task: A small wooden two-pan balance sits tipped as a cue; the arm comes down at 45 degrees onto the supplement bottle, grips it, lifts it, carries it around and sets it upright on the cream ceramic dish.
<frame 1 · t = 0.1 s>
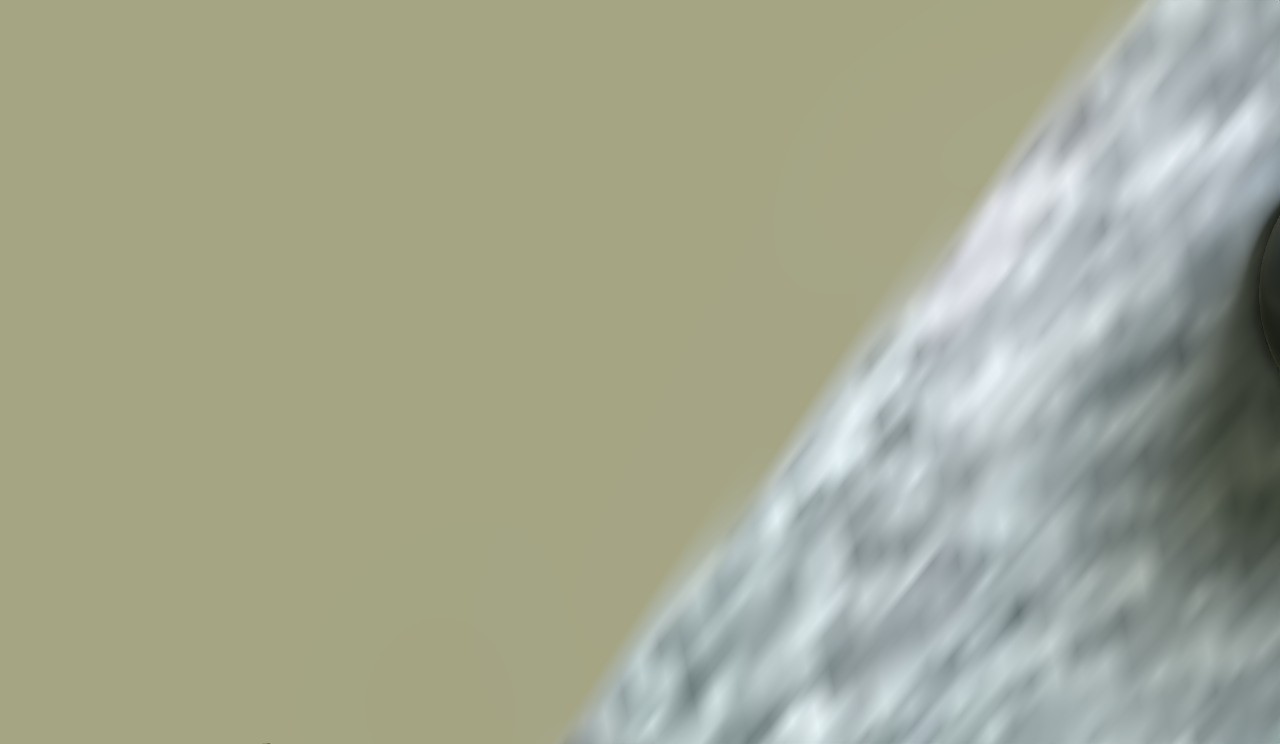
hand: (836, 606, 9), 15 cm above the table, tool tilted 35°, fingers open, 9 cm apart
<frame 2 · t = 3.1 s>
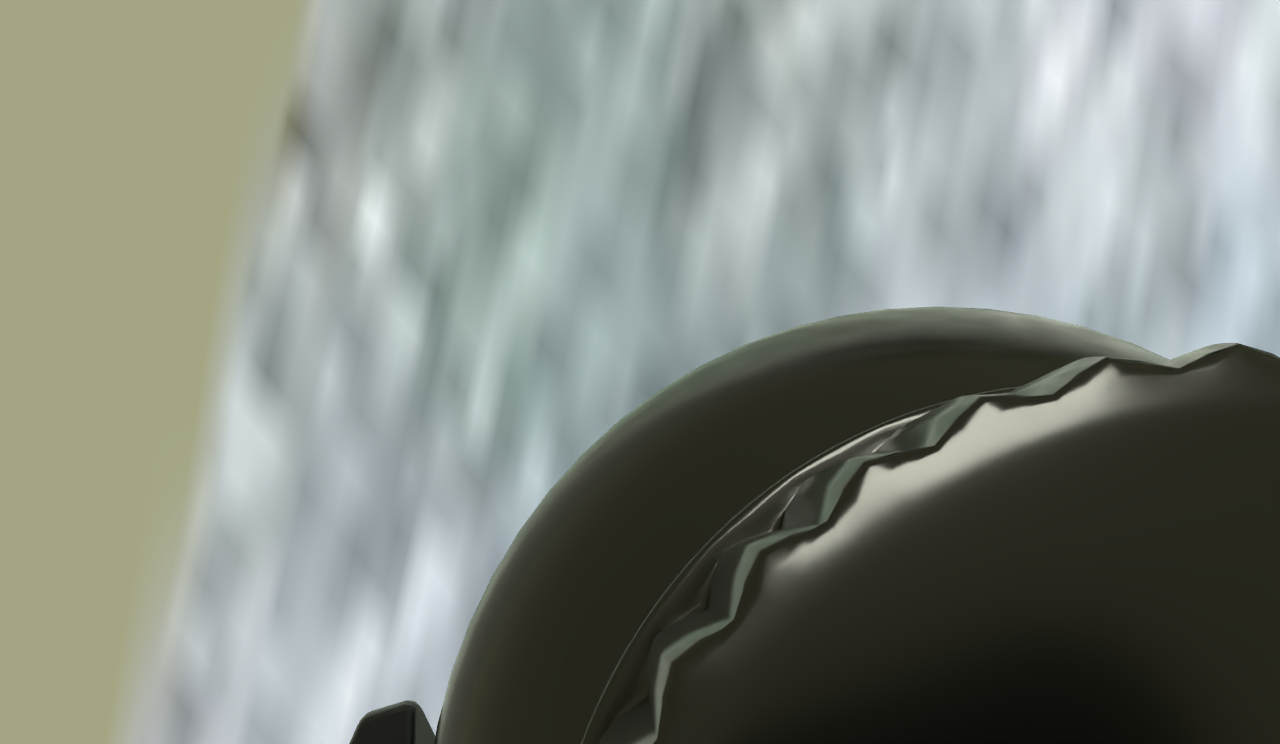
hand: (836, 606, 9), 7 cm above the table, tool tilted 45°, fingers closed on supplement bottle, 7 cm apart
supplement bottle: (780, 691, 15), on the table, touching gripper
when the fingers open (9 cm above the table, at t = 8.0 s): supplement bottle drops 1 cm, resting on dish.
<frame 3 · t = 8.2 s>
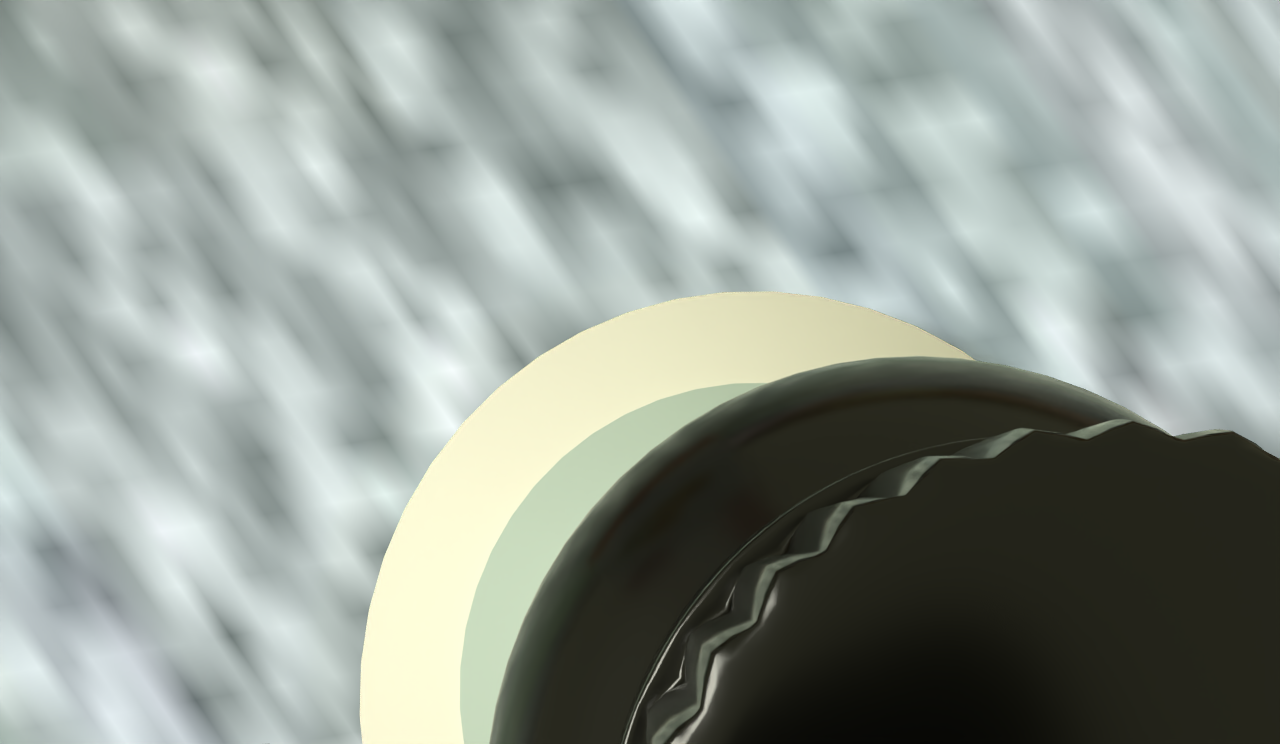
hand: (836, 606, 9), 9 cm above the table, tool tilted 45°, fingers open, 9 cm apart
supplement bottle: (780, 686, 17), point 1 cm above the table, touching dish
dish: (753, 673, 18), on the table
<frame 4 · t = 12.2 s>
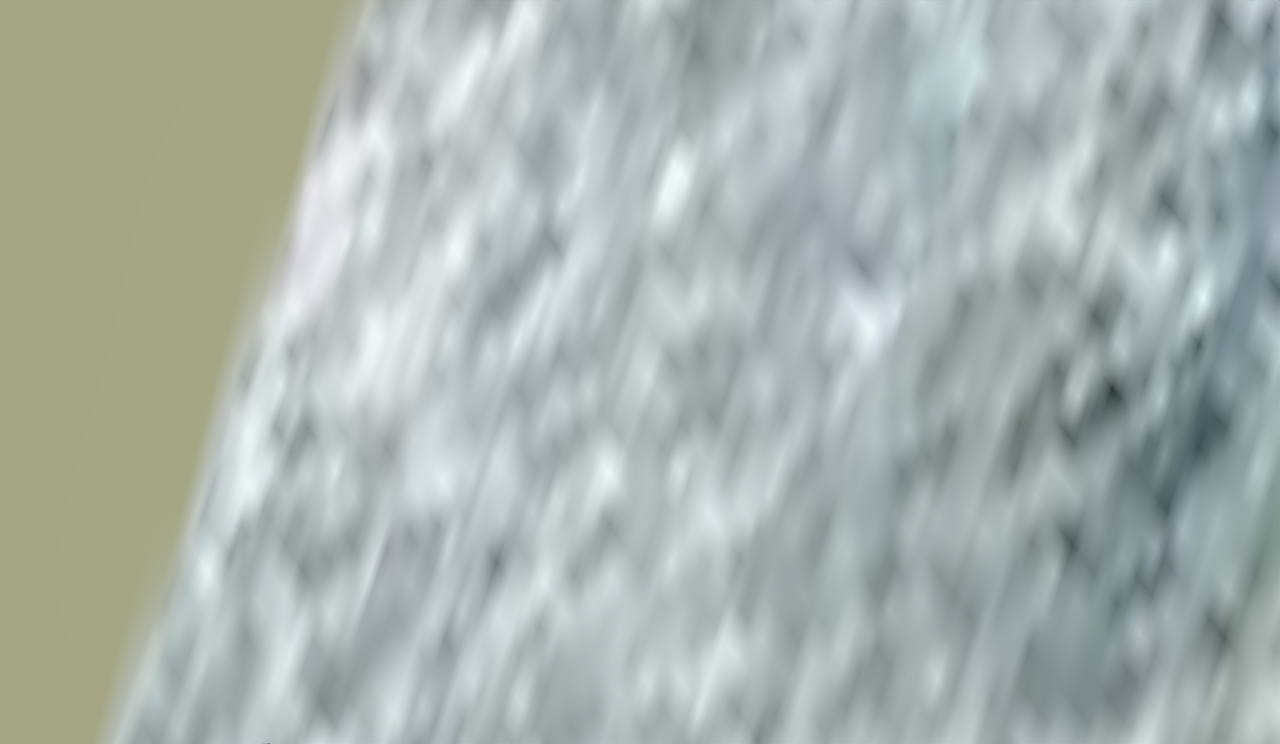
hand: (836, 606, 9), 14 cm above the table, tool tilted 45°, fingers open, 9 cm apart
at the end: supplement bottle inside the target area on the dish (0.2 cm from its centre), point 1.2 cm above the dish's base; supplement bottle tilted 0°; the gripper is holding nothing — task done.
